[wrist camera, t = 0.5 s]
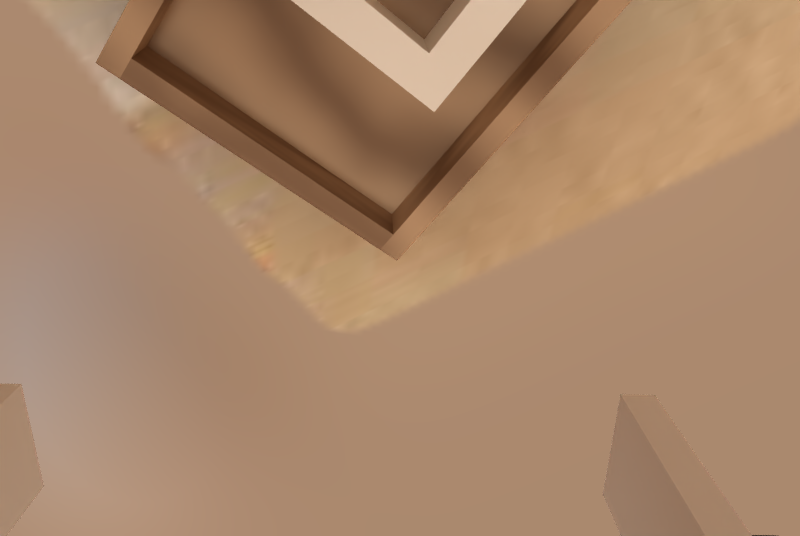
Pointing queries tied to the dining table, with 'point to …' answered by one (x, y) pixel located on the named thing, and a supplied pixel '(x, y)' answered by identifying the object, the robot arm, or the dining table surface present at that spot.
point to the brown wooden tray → (346, 99)
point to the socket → (417, 40)
